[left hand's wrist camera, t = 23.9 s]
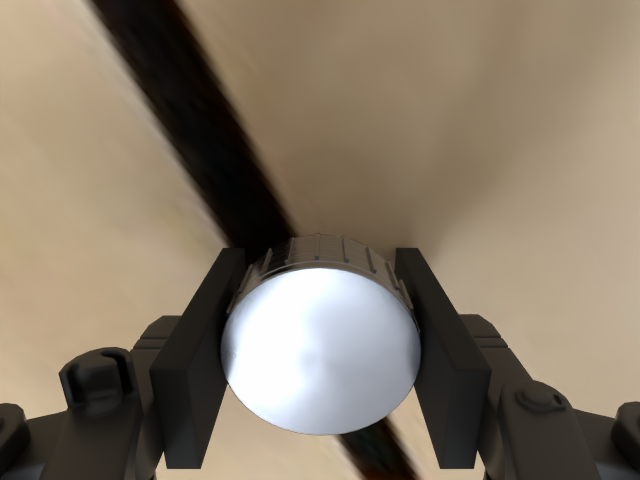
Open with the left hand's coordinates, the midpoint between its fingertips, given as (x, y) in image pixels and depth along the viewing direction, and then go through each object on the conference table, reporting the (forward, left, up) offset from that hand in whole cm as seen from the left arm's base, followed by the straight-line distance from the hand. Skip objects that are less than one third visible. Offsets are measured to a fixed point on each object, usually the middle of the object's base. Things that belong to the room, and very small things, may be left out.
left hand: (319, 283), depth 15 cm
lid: (0, 0, +4) cm, 4 cm away
